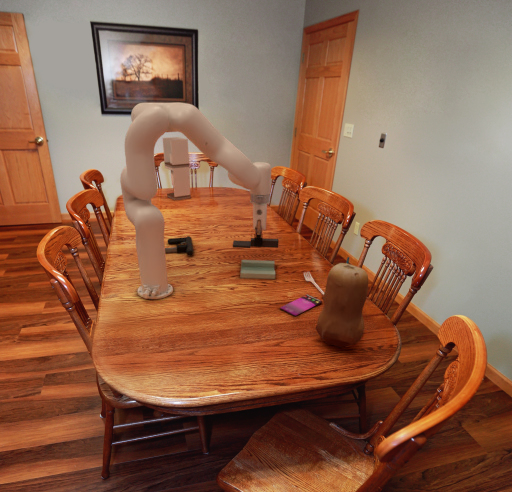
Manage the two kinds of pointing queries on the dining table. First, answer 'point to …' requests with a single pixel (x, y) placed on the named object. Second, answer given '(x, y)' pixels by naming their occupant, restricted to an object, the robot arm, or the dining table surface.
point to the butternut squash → (343, 306)
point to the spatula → (248, 244)
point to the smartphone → (301, 305)
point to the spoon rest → (257, 269)
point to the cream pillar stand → (177, 166)
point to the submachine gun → (181, 248)
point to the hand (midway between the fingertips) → (258, 245)
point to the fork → (312, 281)
